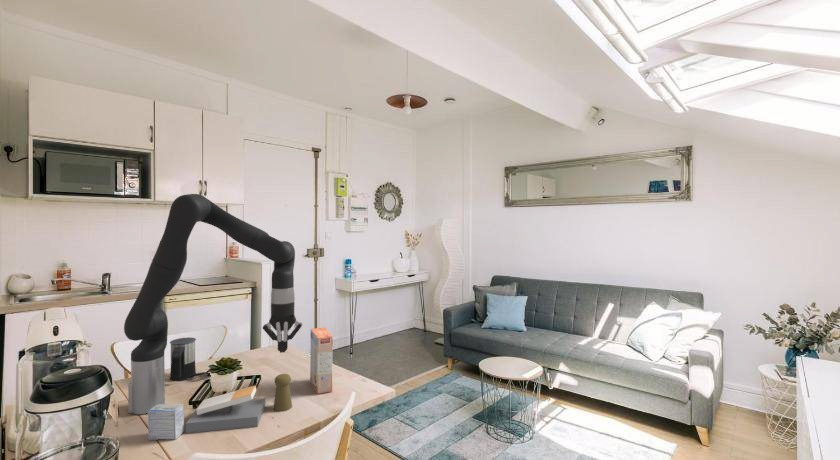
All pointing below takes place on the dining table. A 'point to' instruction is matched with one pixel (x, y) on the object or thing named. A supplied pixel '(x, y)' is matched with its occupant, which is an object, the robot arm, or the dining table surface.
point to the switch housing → (228, 417)
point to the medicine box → (165, 421)
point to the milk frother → (183, 359)
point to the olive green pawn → (282, 393)
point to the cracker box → (321, 360)
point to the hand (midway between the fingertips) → (282, 351)
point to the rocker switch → (226, 400)
